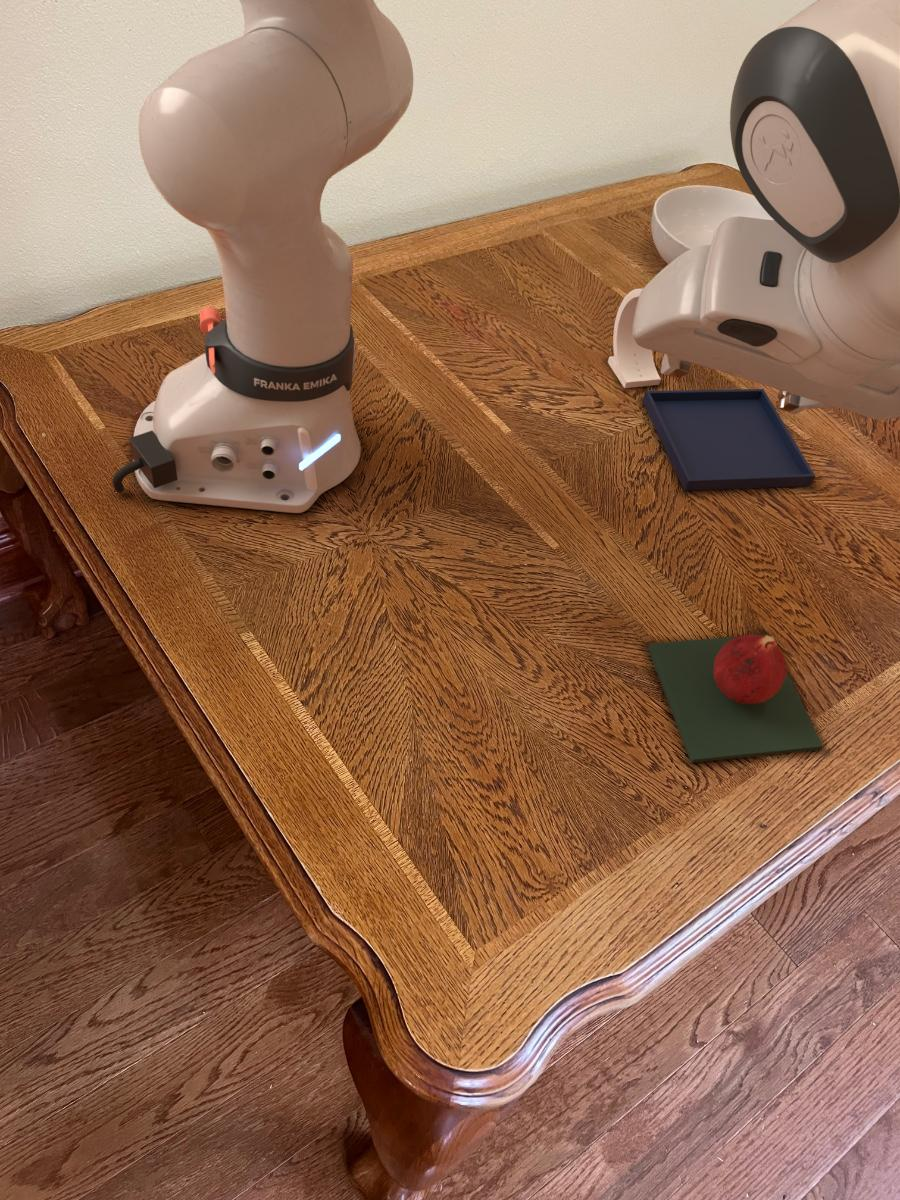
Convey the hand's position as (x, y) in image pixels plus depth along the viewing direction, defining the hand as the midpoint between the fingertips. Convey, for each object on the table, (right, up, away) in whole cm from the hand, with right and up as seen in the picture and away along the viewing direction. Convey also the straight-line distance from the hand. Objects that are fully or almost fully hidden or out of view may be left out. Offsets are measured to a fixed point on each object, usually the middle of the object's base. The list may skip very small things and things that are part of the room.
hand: (728, 384), depth 69 cm
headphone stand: (+1, +11, +43) cm, 44 cm away
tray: (+10, +2, +36) cm, 38 cm away
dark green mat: (+4, -24, +14) cm, 28 cm away
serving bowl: (+16, +30, +60) cm, 69 cm away
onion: (+4, -24, +13) cm, 28 cm away
